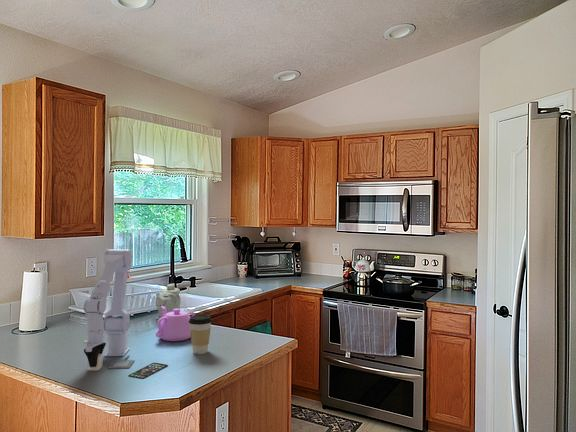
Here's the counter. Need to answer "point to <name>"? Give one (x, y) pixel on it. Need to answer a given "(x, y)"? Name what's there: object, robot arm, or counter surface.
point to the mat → (121, 364)
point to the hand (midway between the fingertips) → (95, 364)
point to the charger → (99, 363)
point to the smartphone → (148, 370)
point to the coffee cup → (200, 333)
